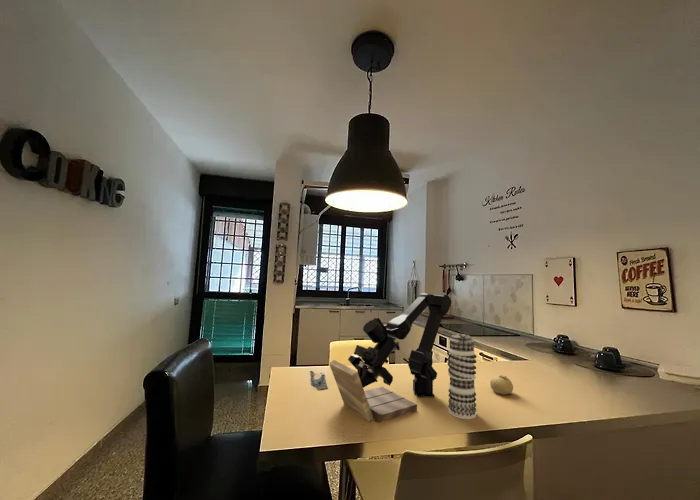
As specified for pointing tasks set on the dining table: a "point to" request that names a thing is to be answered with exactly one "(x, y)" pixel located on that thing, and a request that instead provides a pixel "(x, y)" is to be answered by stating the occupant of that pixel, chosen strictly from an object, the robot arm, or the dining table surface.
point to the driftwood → (318, 381)
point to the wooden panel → (388, 404)
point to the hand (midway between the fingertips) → (354, 390)
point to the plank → (351, 389)
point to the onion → (501, 384)
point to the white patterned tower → (462, 376)
